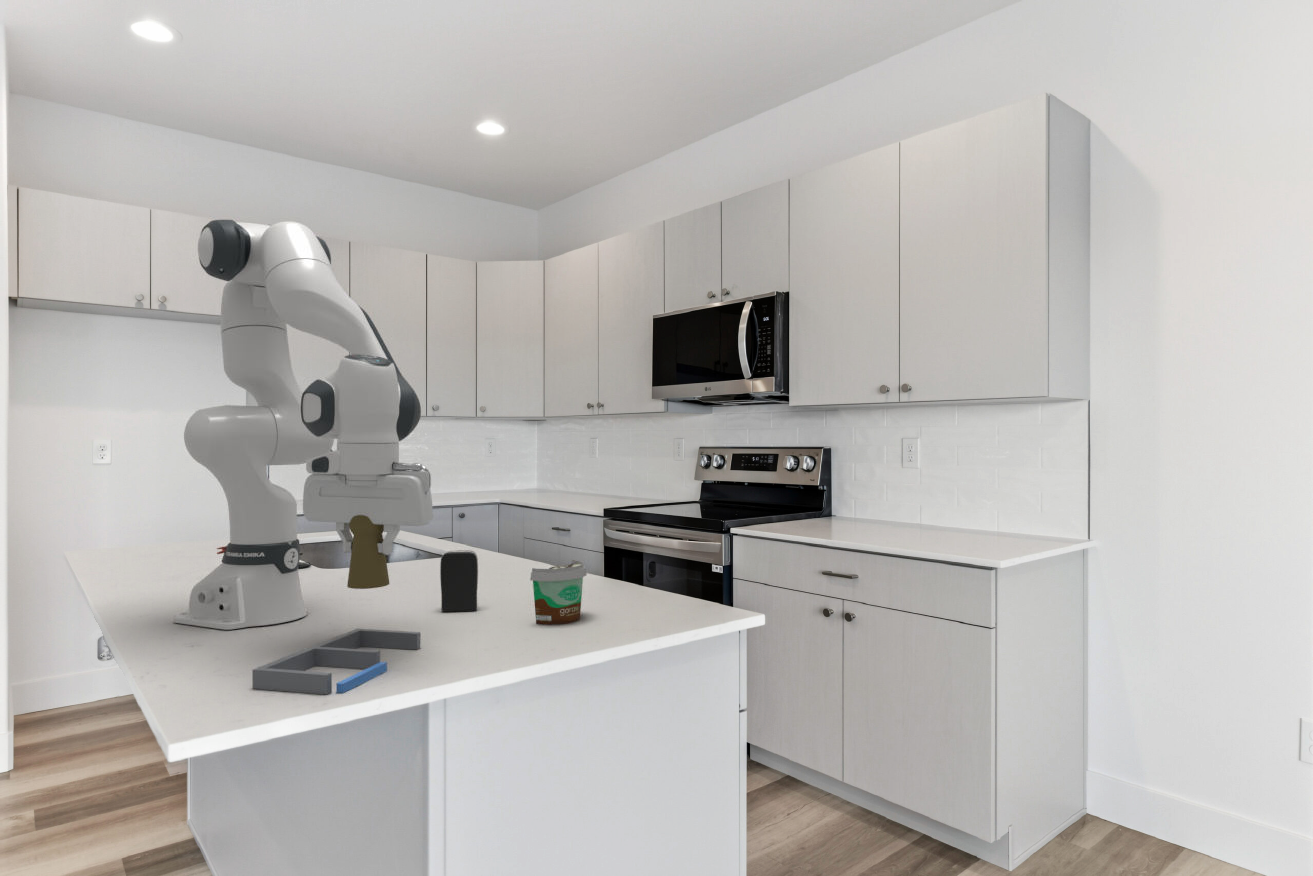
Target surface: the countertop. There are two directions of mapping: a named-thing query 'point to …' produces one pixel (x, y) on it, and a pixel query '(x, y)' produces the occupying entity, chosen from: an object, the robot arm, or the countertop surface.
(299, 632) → the countertop surface
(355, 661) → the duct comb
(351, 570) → the cork
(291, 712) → the countertop surface
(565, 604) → the food container
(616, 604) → the countertop surface
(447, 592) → the battery charger
